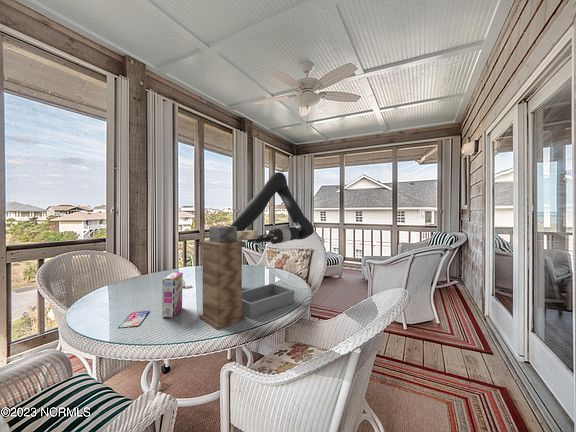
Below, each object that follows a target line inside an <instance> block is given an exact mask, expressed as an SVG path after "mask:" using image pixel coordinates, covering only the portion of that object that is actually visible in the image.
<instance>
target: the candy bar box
mask: <svg viewBox="0 0 576 432" xmlns="http://www.w3.org/2000/svg"><path fill="white" fill-rule="evenodd" d="M183 274H184V273H183V272H171V273H170V274H168V275H166V277H163V279H162V314H161V315H162V319H166V318H167V319H168V318H169V319H172V318H173V319H174V318H175V317H176V316H177V315H178V313H180V312H179V311H181V310H182V308H183V288H182V280H183Z"/></svg>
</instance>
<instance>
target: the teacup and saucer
mask: <svg viewBox="0 0 576 432" xmlns="http://www.w3.org/2000/svg"><path fill="white" fill-rule="evenodd" d="M191 287H193V284H191V283H190V284H186V280H185V279H182V289H183V290H185V289H189V288H191Z"/></svg>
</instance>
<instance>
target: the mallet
mask: <svg viewBox="0 0 576 432" xmlns="http://www.w3.org/2000/svg"><path fill="white" fill-rule="evenodd" d="M257 236H258V231H257V230H253V229H252V230H244V231H237V227H234V226H230V225H217V226H215V225H214V226H209V237H208V238H209V239H208V240H209V241H211V242H216V243H227V242H237V241H246V240H248V239H257V238H258V237H257Z"/></svg>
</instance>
